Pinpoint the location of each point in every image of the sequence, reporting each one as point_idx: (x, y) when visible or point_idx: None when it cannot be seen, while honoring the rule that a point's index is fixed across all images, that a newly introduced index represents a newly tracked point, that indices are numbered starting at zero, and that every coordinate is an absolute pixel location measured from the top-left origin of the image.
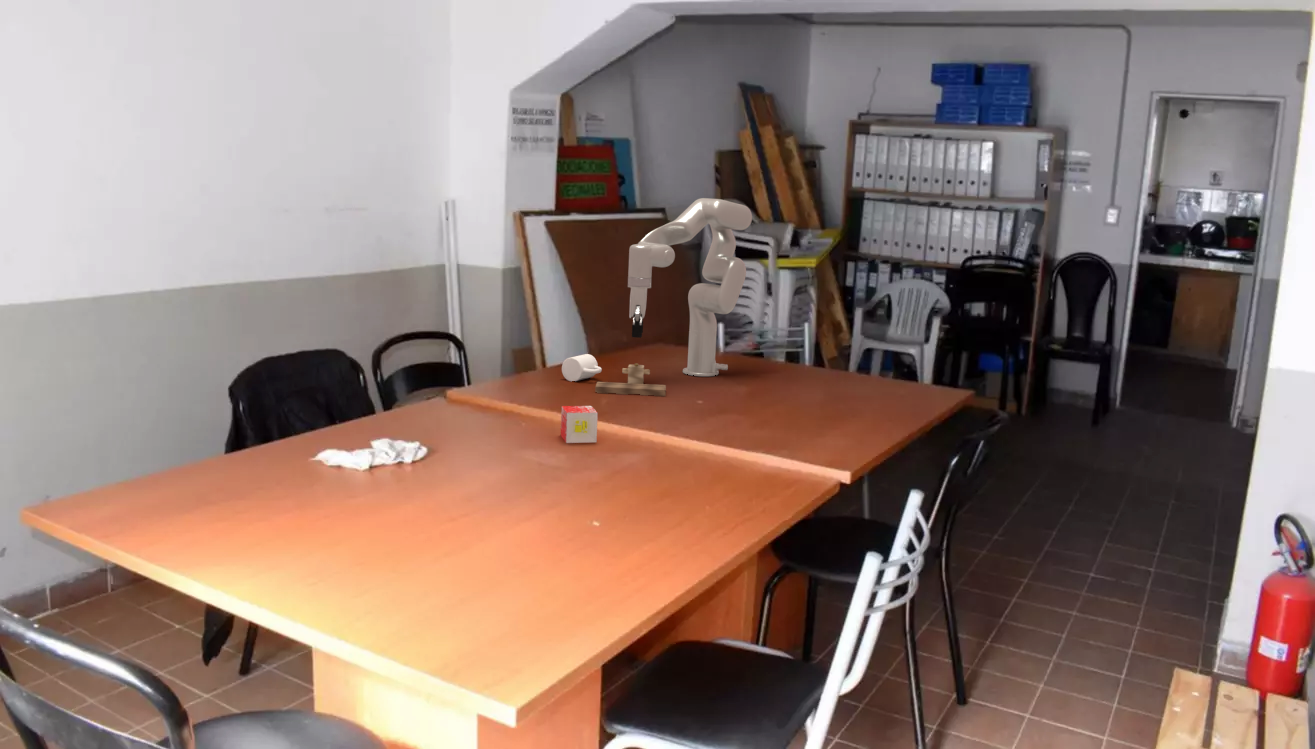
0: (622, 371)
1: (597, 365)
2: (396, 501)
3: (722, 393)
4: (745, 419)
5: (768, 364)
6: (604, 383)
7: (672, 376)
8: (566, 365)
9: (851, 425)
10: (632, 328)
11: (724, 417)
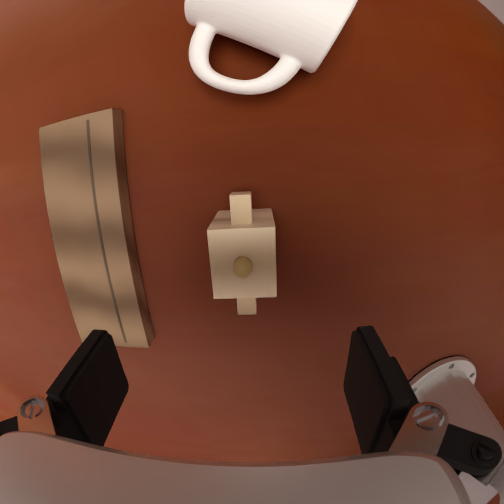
0: (230, 194)
1: (312, 67)
2: None
3: (193, 441)
4: None
5: None
6: (87, 142)
7: (401, 341)
8: None
9: None
10: (64, 373)
11: (11, 400)
